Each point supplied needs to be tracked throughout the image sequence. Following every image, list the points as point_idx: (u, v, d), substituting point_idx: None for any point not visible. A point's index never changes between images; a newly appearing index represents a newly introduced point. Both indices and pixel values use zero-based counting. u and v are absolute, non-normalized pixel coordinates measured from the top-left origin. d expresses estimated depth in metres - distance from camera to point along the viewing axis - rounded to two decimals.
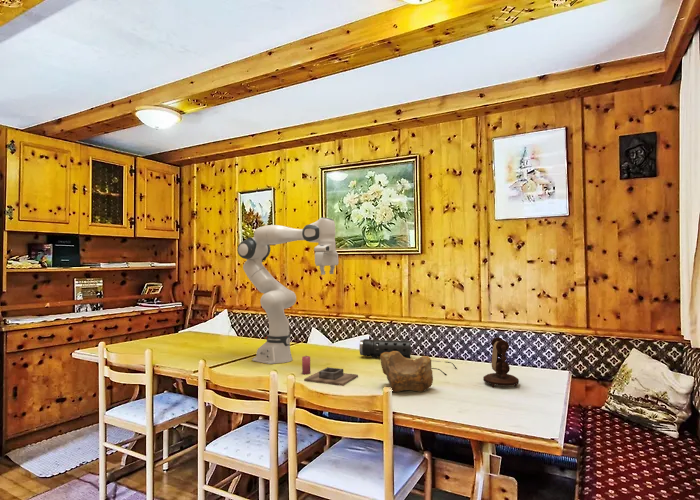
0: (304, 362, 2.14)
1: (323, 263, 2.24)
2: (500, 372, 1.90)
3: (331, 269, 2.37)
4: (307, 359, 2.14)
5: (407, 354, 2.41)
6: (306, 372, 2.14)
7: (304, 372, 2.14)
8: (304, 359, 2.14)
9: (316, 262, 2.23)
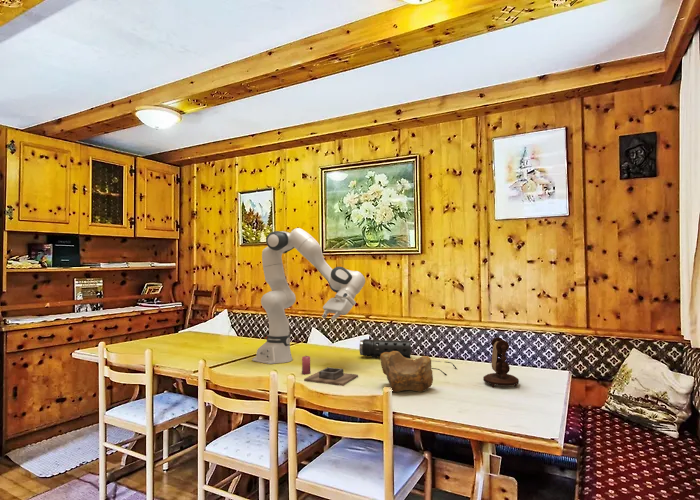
0: (304, 362, 2.14)
1: None
2: (500, 372, 1.90)
3: (325, 313, 2.28)
4: (307, 359, 2.14)
5: (407, 354, 2.41)
6: (306, 372, 2.14)
7: (304, 372, 2.14)
8: (304, 359, 2.14)
9: (344, 309, 2.17)
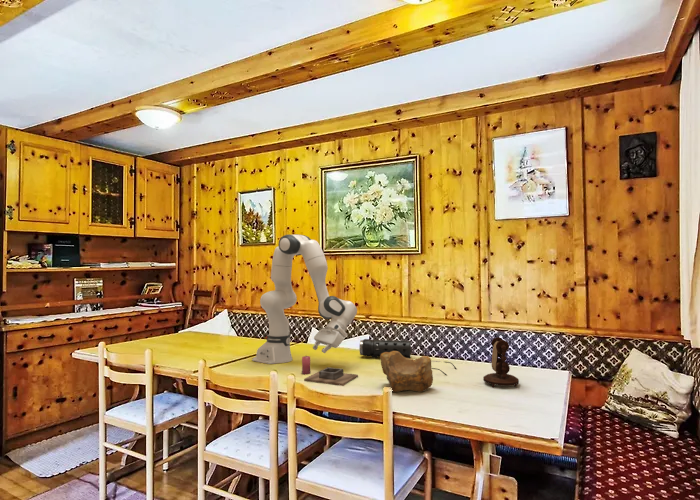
0: (304, 362, 2.14)
1: None
2: (500, 372, 1.90)
3: (316, 344, 2.25)
4: (307, 359, 2.14)
5: (407, 354, 2.41)
6: (306, 372, 2.14)
7: (304, 372, 2.14)
8: (304, 359, 2.14)
9: (335, 342, 2.13)
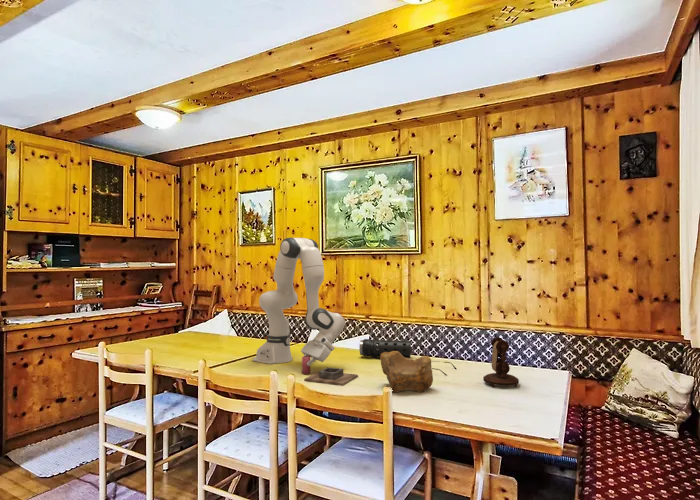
0: (304, 362, 2.14)
1: None
2: (500, 372, 1.90)
3: None
4: (307, 359, 2.14)
5: (407, 354, 2.41)
6: (306, 372, 2.14)
7: (304, 372, 2.14)
8: (304, 359, 2.14)
9: (321, 356, 2.09)
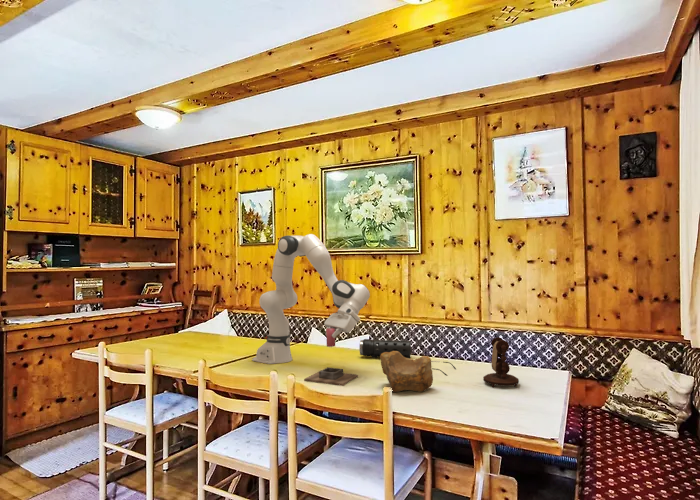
0: (329, 334, 2.04)
1: None
2: (500, 372, 1.90)
3: None
4: (332, 331, 2.04)
5: (407, 354, 2.41)
6: (331, 344, 2.04)
7: (329, 344, 2.04)
8: (329, 331, 2.04)
9: (347, 326, 1.99)
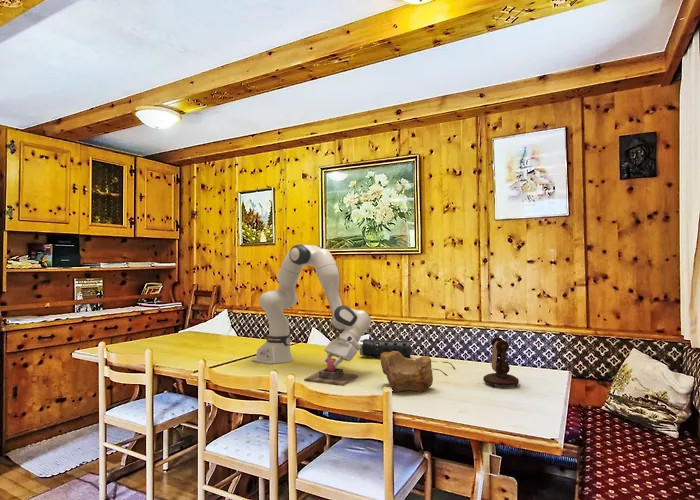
0: (329, 365, 2.04)
1: None
2: (500, 372, 1.90)
3: (328, 357, 2.10)
4: (333, 362, 2.04)
5: (407, 354, 2.41)
6: None
7: None
8: (329, 362, 2.04)
9: (348, 355, 1.99)
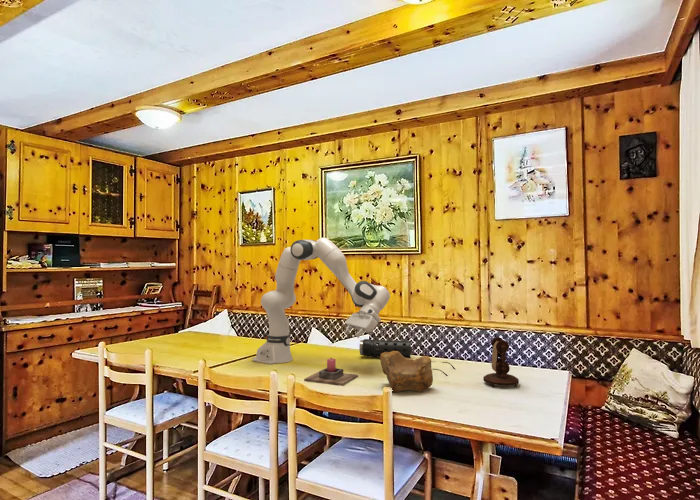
0: (329, 365, 2.04)
1: None
2: (500, 372, 1.90)
3: (348, 329, 2.21)
4: (332, 362, 2.04)
5: (407, 354, 2.41)
6: None
7: None
8: (329, 362, 2.04)
9: (369, 326, 2.09)
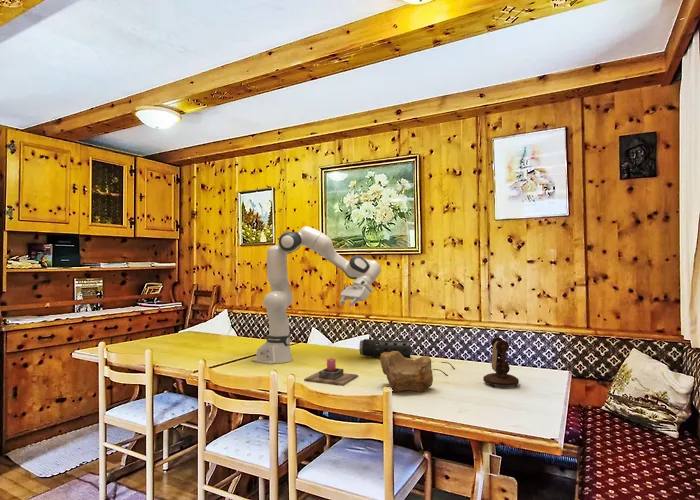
0: (329, 365, 2.04)
1: None
2: (500, 372, 1.90)
3: (343, 300, 2.41)
4: (332, 362, 2.04)
5: (407, 354, 2.41)
6: None
7: None
8: (329, 362, 2.04)
9: (362, 296, 2.29)
